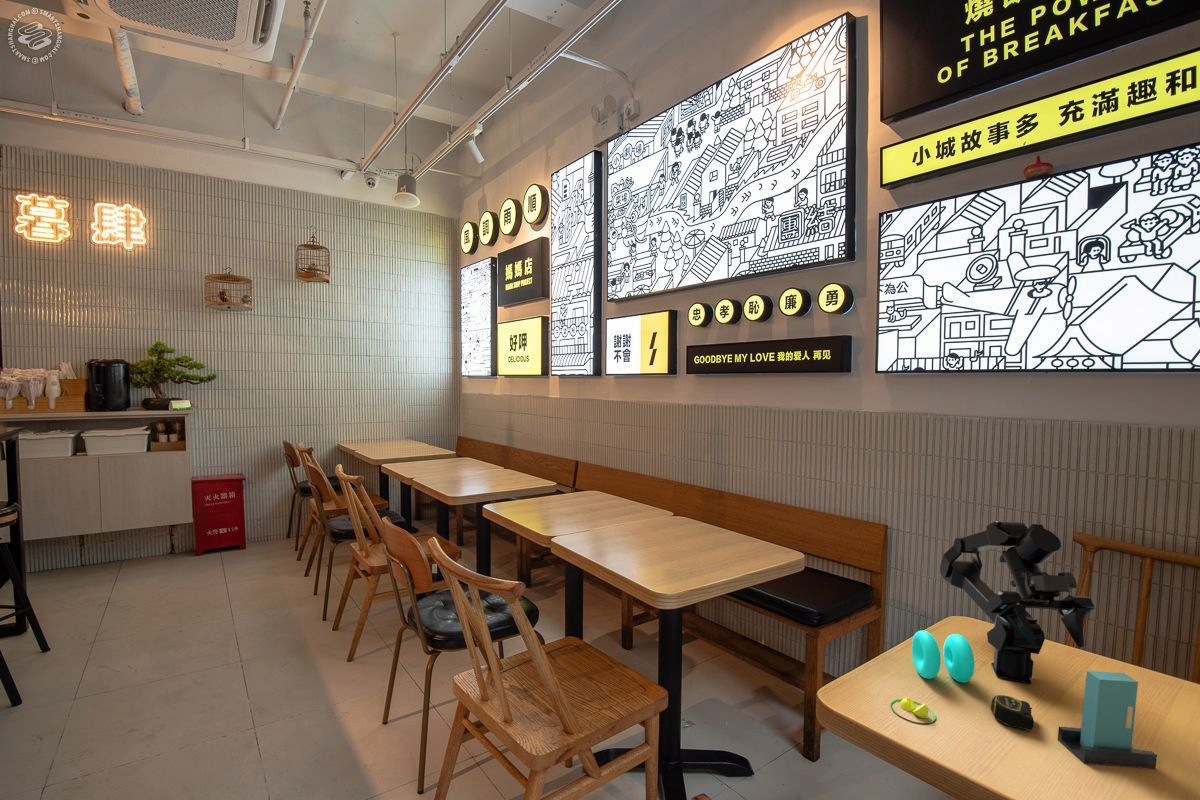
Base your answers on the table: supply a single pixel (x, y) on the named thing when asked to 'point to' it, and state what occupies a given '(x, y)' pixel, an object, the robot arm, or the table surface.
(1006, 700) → the tape measure
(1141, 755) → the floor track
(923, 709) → the lemon
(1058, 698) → the table surface
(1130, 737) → the door panel
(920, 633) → the donuts
